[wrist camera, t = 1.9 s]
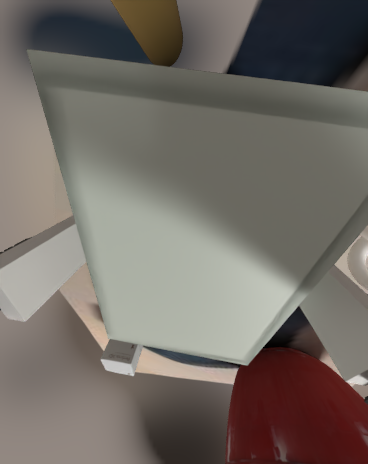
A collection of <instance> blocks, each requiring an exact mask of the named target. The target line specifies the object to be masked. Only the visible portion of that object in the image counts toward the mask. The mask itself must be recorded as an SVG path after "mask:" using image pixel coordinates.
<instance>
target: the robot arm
mask: <svg viewBox="0 0 368 464" xmlns="http://www.w3.org/2000/svg"><path fill="white" fill-rule="evenodd" d="M85 262H86V258H85V254H84V251H83V247H82V244H81V240H80V237H79V233H78V230H77V226H76V223H75V219H74V216H71V217H69V218H67V219H66V220H64V221H62V222H60V223H58V224H56V225H54V226H52V227H51V228H49V229H47V230H45V231H43V232H41V233H39V234H37V235H36V236H34V237H31V238H28V239H25V240H23V241H21V242H19V243H17V244H16V245H14V247H10V248H8V249H6V250H4V252H0V310H1V311H2V312H3V313H4V315H5V316H6V317H7V318H8V319H12V320H17V321H23V322H25V321H26V320H28V319H29V318H30V317H31V316H32V315H33V314H34V313H35V312H36V311H37V310H38V309H39V308H40V307H41V306H42V305H43V304H44V303H45V302H46V301H47V300H48V299H49V298H50V297H51V296H52V295H53V294H54V293H55V292H56V291H57V290H58V289H59V288H60V287H61V286H62V285H63V284H64V283H65V282H66V281H67V280H68V279H69V278H70V277H71V276H72V275H73V274H74V273H75V272H76V271H77V270H78V269H79V268H80V267H81V266H82V265H83V264H84V263H85ZM299 306H300V308H301V309H302V311H303V313H304V314H305V316H306V318H307V319H308V321H309V323H310V324H311V326H312V328H313V329H314V331H315V332H316V334H317V336H318V337H319V339H320V341H321V342H322V344H323V346H324V347H325V349H326V351H327V352H328V354H329V356H330V357H331V359H332V360H333V362H334V364H335V365H336V367H337V369H338V370H339V372H340V374H341V375H342V377H343V379H344V380H345V382H349V383H355V384H360V385H368V295H367V294H366V293H365V292H364V291H363V290H362V289H360V288H359V287H358V286H357V285H356V284H355V283H354V282H353V281H352V280H350V279H349V278H348V277H347V276H346V275H345V274H344V273H343V272H342V271H340V270H339V269H338V268H337V267H336V266H335V265H333V266H332V267H331V269H330V270H329V271H328V272H327V273H326V274H325V276H324V277H323V278H322V279H321V280H320V281H319V283H318V284H317V285H316V286H315V287H314V288H313V290H312V291H311V292H310V293H309V294H308V295H307V297H306V298H305V299H304V300H303V301H302V302H301V304H300V305H299ZM364 402H365V403H366V404H367V405H368V396H367V397H365V400H364Z"/></svg>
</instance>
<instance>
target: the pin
mask: <svg viewBox="0 0 368 464" xmlns="http://www.w3.org/2000/svg"><path fill="white" fill-rule="evenodd" d="M111 2H112V3H113V5H114V6H115V8H116V9H117V11H118V12H119V14H120V16H121V17H122V19H123V20H124V22H125V23H126V25H127V26H128V28H129V29H130V31H131V32H132V34H133V35H134V37H135V38H136V40H137V42H138V43H139V44H140V46H141V48H142V49H143V51H144V52H145V54H146V55H147V57H148V58H149V60H150V61H151V62H152V63H153V64H154V65H158V66H166V67H170V66H172V65H173V64H174V63H175V62H176V60H177V59H178V57H179V55H180V53H181V49H182V43H183V33H182V27H181V22H180V17H179V11H178V6H177V1H176V0H111Z"/></svg>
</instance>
